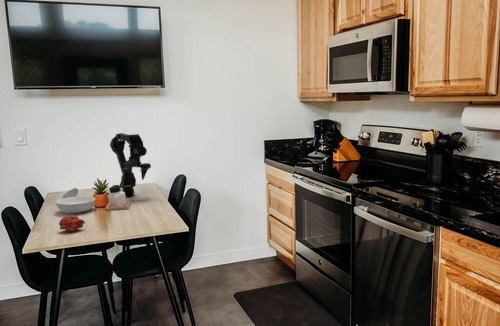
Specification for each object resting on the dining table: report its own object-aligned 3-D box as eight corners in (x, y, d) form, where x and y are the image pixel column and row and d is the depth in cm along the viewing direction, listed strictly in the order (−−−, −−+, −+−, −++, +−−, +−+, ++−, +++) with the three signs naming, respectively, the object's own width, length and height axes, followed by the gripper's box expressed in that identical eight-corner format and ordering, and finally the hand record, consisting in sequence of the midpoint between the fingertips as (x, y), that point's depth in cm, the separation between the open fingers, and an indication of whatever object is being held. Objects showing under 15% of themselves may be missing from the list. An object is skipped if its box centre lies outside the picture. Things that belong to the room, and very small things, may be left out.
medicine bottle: (127, 203, 252) (123, 184, 248) (118, 208, 246) (114, 188, 242) (118, 202, 255) (114, 183, 251) (109, 206, 249) (105, 187, 246)
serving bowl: (80, 217, 231) (79, 205, 230) (48, 215, 237) (47, 203, 236) (103, 207, 251) (102, 196, 250) (74, 206, 257) (73, 195, 256)
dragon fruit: (58, 234, 207) (84, 236, 209) (55, 228, 199) (82, 230, 202) (61, 218, 211) (87, 219, 213) (58, 211, 203) (85, 213, 206)
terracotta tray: (105, 210, 243) (105, 207, 243) (109, 205, 255) (109, 202, 255) (128, 209, 245) (127, 206, 245) (130, 204, 257) (130, 201, 257)
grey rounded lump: (79, 209, 267) (79, 197, 262) (61, 209, 264) (61, 197, 258) (79, 198, 276) (80, 185, 271) (62, 198, 272) (62, 185, 267)
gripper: (114, 156, 261) (116, 181, 263) (139, 156, 254) (141, 182, 256) (125, 153, 271) (127, 177, 273) (150, 154, 264) (152, 179, 266)
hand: (136, 179), depth 267 cm, fingers open, 9 cm apart
